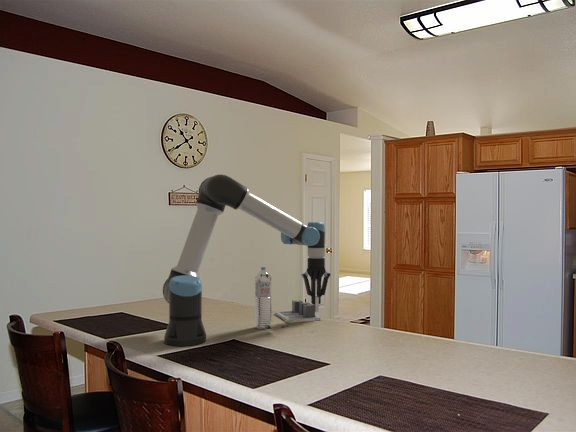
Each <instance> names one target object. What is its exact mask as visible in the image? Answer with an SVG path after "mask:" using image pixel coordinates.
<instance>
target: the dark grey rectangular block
mask: <svg viewBox="0 0 576 432" xmlns="http://www.w3.org/2000/svg"><path fill="white" fill-rule="evenodd" d="M315 315H316V312H315V306H314V305H313V304H312V303H310V305H309V304H307V305H303V318H312V317H315Z"/></svg>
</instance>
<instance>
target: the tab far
mask: <svg viewBox="0 0 576 432" xmlns="http://www.w3.org/2000/svg"><path fill="white" fill-rule="evenodd" d="M303 302H304V301H303V300H300V299H299V300H291V311H292V313H299V303H303Z"/></svg>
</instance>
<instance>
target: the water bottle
mask: <svg viewBox="0 0 576 432" xmlns="http://www.w3.org/2000/svg"><path fill="white" fill-rule="evenodd" d="M260 269H261V270H260V271H259V272H258V273H257V274H256V276H255V278H254V279H255V280H254V281H255V283H254V284H255V287H254V288H255V290H254V291H255V293H254V294H255V297H254V327H255V328H256V329H258V330H269V329H271V328H272V327H271V325H272V323H273V322H272V316H273V315H272V309H273V308H272V306H273V305H272V302H273V301H272V300H273V299H272V275H270V273H269V272H268V271H266V266H262V267H260Z"/></svg>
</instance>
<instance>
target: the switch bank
mask: <svg viewBox="0 0 576 432" xmlns="http://www.w3.org/2000/svg"><path fill="white" fill-rule="evenodd" d="M274 315H276V316H277V317H278V318H280V319H281V320H283V321H284V322H286V323H299V322H301V323H302V322H314V321H315V322H316V321H321V317H320V316H319V315H316V314H315V317H312V318H303V315H299V313H292V310H280V311H274Z"/></svg>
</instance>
